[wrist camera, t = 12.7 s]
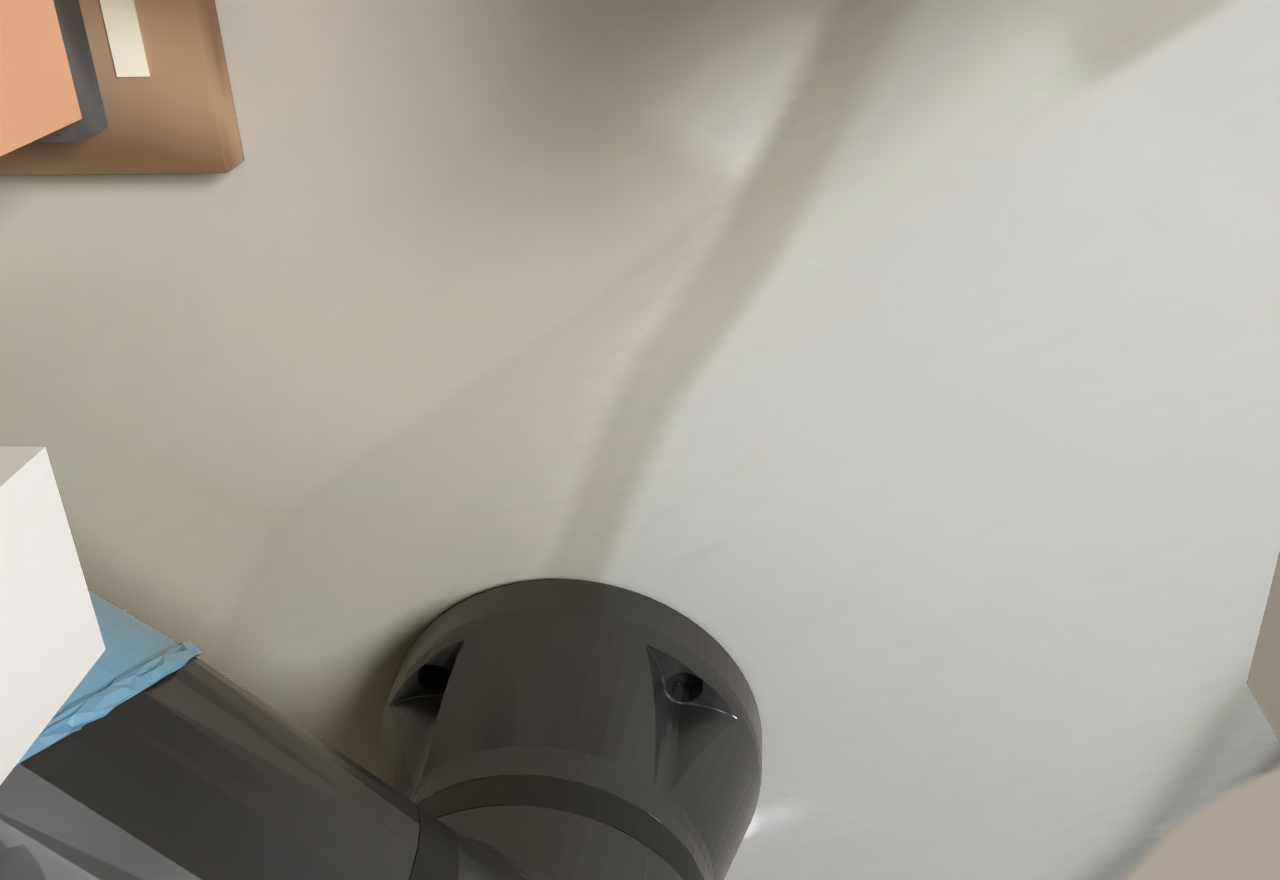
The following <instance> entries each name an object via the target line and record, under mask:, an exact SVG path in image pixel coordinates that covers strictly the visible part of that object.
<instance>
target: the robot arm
mask: <svg viewBox="0 0 1280 880" xmlns="http://www.w3.org/2000/svg"><path fill="white" fill-rule="evenodd" d="M201 652H202V649H200V648H199V647H197V646H196V645H195V644H193V643H191V642H180V643H178V642H176V641H174V640H173V639H171V638H169V637H168V636H166V635H164V634H163V633H161V632H159V631H158V630H156V629H154V628H153V627H151V626H149V625H147V624H146V623H144V622H142V621H141V620H139V619H137V618H136V617H134V616H132V615H131V614H129V613H127V612H126V611H124V610H122V609H121V608H119V607H117V606H116V605H114V604H112V603H111V602H109V601H107V600H106V599H104V598H102V597H101V596H99V595H97V594H96V593H94V592H92V591H90V590H88V588H87V585H86V582H85V578H84V575H83V572H82V568H81V565H80V562H79V558H78V555H77V552H76V548H75V545H74V541H73V538H72V535H71V531H70V528H69V525H68V521H67V518H66V515H65V511H64V508H63V505H62V501H61V498H60V494H59V491H58V488H57V484H56V481H55V478H54V474H53V471H52V468H51V464H50V461H49V458H48V454H47V451H46V448H45V447H31V446H0V880H724V878H725V876H726V874H727V872H728V869H729V867H730V865H731V863H732V861H733V859H734V857H735V854H736V852H737V850H738V848H739V846H740V844H741V842H742V840H743V837H744V835H745V833H746V831H747V829H748V827H749V825H750V822H751V820H752V817H753V815H754V812H755V809H756V805H757V801H758V797H759V792H760V786H761V774H762V731H761V723H760V717H759V712H758V708H757V705H756V702H755V698H754V696H753V693H752V691H751V689H750V686H749V684H748V683H747V681H746V679H745V677H744V675H743V673H742V672H741V670H740V669H739V667H738V666H737V664H736V663H735V662H734V660H733V659H732V658H731V656H730V655H729V654H728V653H727V652H726V651H725V649H724V648H723V647H722V646H721V645H720V644H719V643H718V642H717V641H716V640H715V639H714V638H713V637H712V636H711V635H709V634H708V633H707V632H706V631H705V630H703V629H702V628H701V627H700V626H698V625H697V624H696V623H694V622H693V621H691V620H690V619H689V618H687V617H685V616H684V615H682V614H681V613H679V612H677V611H676V610H674V609H672V608H670V607H668V606H666V605H665V604H662V603H660V602H658V601H656V600H654V599H651V598H649V597H646V596H644V595H641V594H639V593H636V592H632V591H629V590H626V589H623V588H619V587H615V586H611V585H606V584H601V583H595V582H588V581H579V580H537V581H529V582H521V583H516V584H511V585H506V586H503V587H499V588H495V589H492V590H489V591H486V592H484V593H481V594H478V595H476V596H474V597H472V598H469V599H467V600H465V601H463V602H462V603H460V604H458V605H456V606H454V607H453V608H451V609H450V610H448V611H447V612H445V613H444V614H443V615H441V616H440V617H439V618H437V619H436V620H435V621H434V622H433V623H432V624H431V625H429V626H428V627H427V628H426V629H425V630H424V632H423V633H422V634H421V635H420V636H419V637H418V638H417V640H416V641H415V642H414V644H413V645H412V647H411V648H410V650H409V651H408V653H407V655H406V656H405V658H404V660H403V662H402V664H401V667H400V669H399V672H398V674H397V676H396V679H395V681H394V684H393V686H392V688H391V691H390V693H389V696H388V698H387V701H386V704H385V707H384V711H383V715H382V720H381V726H380V732H379V768H380V779H379V778H377V777H376V776H374V775H373V774H371V773H370V772H368V771H367V770H365V769H364V768H362V767H361V766H359V765H358V764H356V763H355V762H353V761H352V760H350V759H349V758H347V757H346V756H344V755H343V754H341V753H340V752H338V751H337V750H335V749H334V748H332V747H331V746H329V745H328V744H326V743H325V742H323V741H322V740H320V739H319V738H317V737H316V736H314V735H313V734H311V733H310V732H308V731H307V730H305V729H304V728H302V727H301V726H299V725H298V724H296V723H295V722H293V721H292V720H290V719H289V718H287V717H286V716H284V715H283V714H281V713H280V712H278V711H277V710H275V709H274V708H272V707H271V706H269V705H268V704H266V703H265V702H263V701H262V700H260V699H259V698H257V697H255V696H254V695H252V694H251V693H249V692H248V691H246V690H245V689H243V688H242V687H240V686H239V685H237V684H236V683H234V682H233V681H231V680H230V679H228V678H227V677H225V676H224V675H222V674H221V673H219V672H218V671H216V670H215V669H213V668H212V667H210V666H209V665H207V664H206V663H204V662H203V661H201V660H200V659H198V658H197V657H196V656H198V655H200V654H201ZM1247 684H1248V686H1249V688H1250V690H1251V692H1252V693H1253V695H1254V697H1255V699H1256V701H1257V702H1258V704H1259V706H1260V708H1261V710H1262V711H1263V713H1264V715H1265V717H1266V719H1267V721H1268V722H1269V724H1270V726H1271V728H1272V730H1273V731H1274V733H1275V735H1276V737H1277V739H1278V740H1279V742H1280V552H1279V556H1278V560H1277V564H1276V568H1275V572H1274V576H1273V580H1272V584H1271V588H1270V592H1269V596H1268V600H1267V604H1266V608H1265V612H1264V616H1263V620H1262V624H1261V628H1260V632H1259V636H1258V640H1257V644H1256V648H1255V652H1254V656H1253V660H1252V664H1251V668H1250V672H1249V676H1248V680H1247Z"/></svg>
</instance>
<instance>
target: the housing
mask: <svg viewBox="0 0 1280 880" xmlns="http://www.w3.org/2000/svg"><path fill="white" fill-rule="evenodd" d="M80 119H82V116H81V112H80V108H79V104H78V100H77V96H76V92H75V87H74V83H73V79H72V75H71V71H70V67H69V63H68V59H67V55H66V51H65V47H64V43H63V39H62V34H61V30H60V26H59V22H58V18H57V14H56V10H55V6H54V2H53V0H0V156H3V155H5V154H7V153H9V152H11V151H13V150H15V149H18V148H20V147H22V146H24V145H26V144H28V143H31V142H33V141H35V140H37V139H39V138H41V137H44V136H46V135H48V134H50V133H52V132H54V131H57V130H59V129H61V128H63V127H65V126H67V125H70V124H72V123H74V122H76V121H78V120H80Z"/></svg>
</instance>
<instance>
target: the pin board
mask: <svg viewBox="0 0 1280 880" xmlns="http://www.w3.org/2000/svg"><path fill="white" fill-rule="evenodd" d="M53 2H54V6H55V10H56V14H57V18H58V22H59V26H60V30H61V34H62V39H63V43H64V47H65V51H66V55H67V59H68V63H69V67H70V71H71V75H72V79H73V83H74V87H75V92H76V96H77V100H78V104H79V108H80V112H81V116H82V119H80V120H78V121H76V122H74V123H72V124H70V125H67V126H65V127H63V128H61V129H59V130H57V131H54V132H52V133H50V134H48V135H46V136H44V137H41V138H39V139H37V140H35V141H33V142H31V143H28V144H26V145H24V146H22V147H20V148H18V149H15V150H13V151H11V152H9V153H7V154H5V155H3V156H0V175H59V174H176V173H227V172H228V171H230V170H231V169H233V168H234V167H236V166H237V165H239V164H240V163H242V162H243V161H244V156H243V151H242V146H241V140H240V135H239V130H238V124H237V119H236V114H235V108H234V103H233V97H232V92H231V87H230V81H229V76H228V71H227V65H226V60H225V54H224V49H223V44H222V38H221V33H220V28H219V22H218V17H217V12H216V6H215V1H214V0H53Z"/></svg>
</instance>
